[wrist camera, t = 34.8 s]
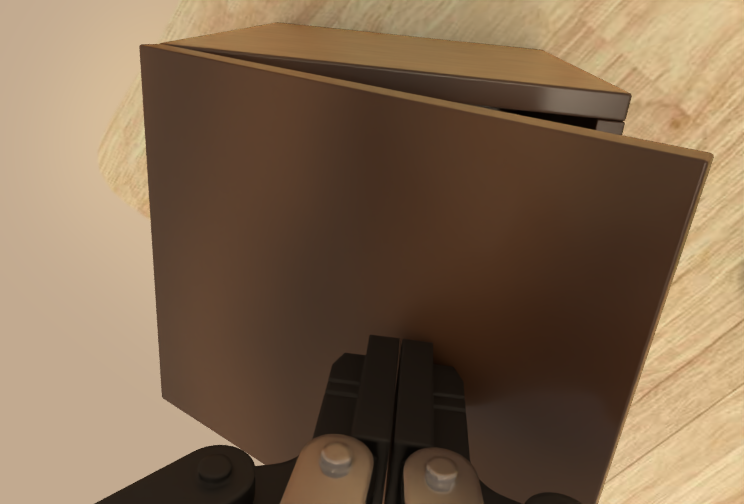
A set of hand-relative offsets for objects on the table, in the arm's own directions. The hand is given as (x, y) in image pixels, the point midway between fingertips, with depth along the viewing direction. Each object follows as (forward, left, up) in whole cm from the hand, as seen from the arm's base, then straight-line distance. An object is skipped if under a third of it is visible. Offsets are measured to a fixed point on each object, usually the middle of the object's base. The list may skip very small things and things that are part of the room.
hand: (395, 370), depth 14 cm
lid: (0, -1, -2) cm, 3 cm away
